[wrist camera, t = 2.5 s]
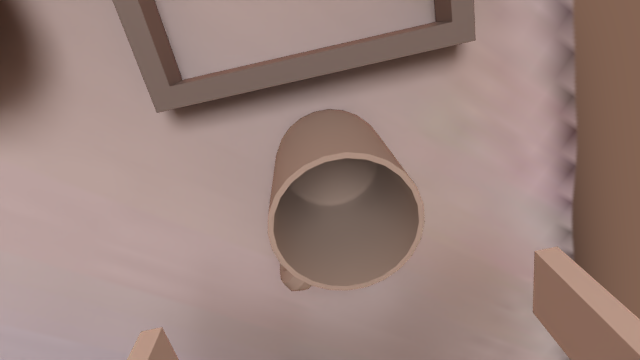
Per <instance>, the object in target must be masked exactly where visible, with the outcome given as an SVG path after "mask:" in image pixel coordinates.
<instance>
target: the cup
mask: <svg viewBox="0 0 640 360" xmlns="http://www.w3.org/2000/svg"><path fill="white" fill-rule="evenodd" d="M424 223H425V220H424V205H423V202H422V199H421V196H420V194H419V191H418V189H417V187H416V185H415V184H414V182H413V181H412V180H411V178H410V177H409V176H408V174H407V173H406V172H405V170H404V169H403V168H402V166H401V165H400V164H399V162H398V161H397V160H396V158H395V157H394V155H393V154H392V153H391V151H390V150H389V149H388V147H387V146H386V145H385V143H384V142H383V141H382V139H381V138H380V137H379V135H378V134H377V133H376V132H375V130H374V129H373V128H372V127H371V125H369V124H368V123H367V122H366V121H364V120H363V119H361V118H360V117H359V116H357V115H355V114H352V113H349V112H346V111H344V110H332V109H327V110H322V111H316V112H313V113H311V114H309V115H307V116H304V117H302V118H300V119H299V120H298V121H297V122H296V123H295V124H293V125H292V126H291V127H290V128H289V129H288V131H287V132H286V134H285V135H284V137H283V138H282V140H281V143H280V146H279V149H278V152H277V155H276V161H275V168H274V176H273V183H272V191H271V198H270V206H269V213H268V236H269V240H270V243H271V247H272V250H273V252H274V253H275V255H276V257H277V258H278V260H279V262H280V275H281V280H282V282H283V283H284V284H285V285H286V286H287V287H288V288H289V289H290V290H291V291H300V290H306V289H309V287H310V286H311V285H312V286H316V287H320V288H324V289H328V290H352V289H358V288H363V287H367V286H370V285H372V284H375V283H377V282H380V281H382V280H384V279H386V278H387V277H389V276H390V275H392V274H393V273H395V272H396V271H397V270H399V269H400V268H401V267H402V266H403V265H404V264H405V263H406V261H407V260H408V259H409V258H410V257H411V256H412V254H413V253H414V251H415V249H416V247H417V245H418V243H419V241H420V240H421V235H422V231H423V227H424Z"/></svg>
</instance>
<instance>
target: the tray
mask: <svg viewBox="0 0 640 360" xmlns="http://www.w3.org/2000/svg"><path fill="white" fill-rule="evenodd" d="M113 3H114V5H115V8H116V10H117V13H118V16H119V18H120V21H121V23H122V26H123V28H124V31H125V33H126V36H127V38H128V41H129V43H130V46H131V49H132V51H133V54H134V56H135V59H136V61H137V64H138V66H139V69H140V71H141V74H142V76H143V79H144V82H145V84H146V87H147V89H148V92H149V94H150V97H151V99H152V102H153V104H154V107H155V109H156V112H157V113H158V112H163V111H167V110H172V109H176V108H180V107H185V106H189V105H194V104H198V103H202V102H207V101H211V100H216V99H220V98H224V97H229V96H233V95H238V94H242V93H246V92H251V91H255V90H260V89H264V88H268V87H273V86H277V85H282V84H286V83H290V82H295V81H299V80H304V79H308V78H312V77H317V76H321V75H326V74H330V73H334V72H339V71H343V70H348V69H352V68H356V67H361V66H365V65H370V64H374V63H378V62H383V61H387V60H392V59H396V58H400V57H405V56H409V55H414V54H418V53H422V52H427V51H431V50H436V49H440V48H444V47H449V46H453V45H458V44H462V43H466V42H471V41H475V40H476V39H475V14H474V0H434V3H435V15H436V22H433V23H429V24H425V25H420V26H416V27H412V28H407V29H403V30H399V31H394V32H390V33H385V34H381V35H377V36H372V37H368V38H364V39H359V40H355V41H351V42H346V43H342V44H337V45H333V46H329V47H324V48H320V49H316V50H311V51H307V52H303V53H298V54H294V55H289V56H285V57H281V58H276V59H272V60H268V61H263V62H259V63H255V64H250V65H246V66H241V67H237V68H233V69H228V70H224V71H220V72H215V73H211V74H206V75H202V76H198V77H193V78H189V79H185V80H182V77H181V75H180V72H179V69H178V66H177V63H176V60H175V58H174V55H173V52H172V49H171V46H170V43H169V41H168V38H167V35H166V32H165V29H164V26H163V24H162V21H161V18H160V15H159V12H158V9H157V7H156V4H155V1H154V0H113Z"/></svg>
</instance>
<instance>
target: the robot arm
mask: <svg viewBox="0 0 640 360" xmlns="http://www.w3.org/2000/svg"><path fill="white" fill-rule="evenodd" d="M533 313H534V314H535V316H536V317H537V318H538V319H539V321H540V322H541V323H542V324H543V326H544V327H545V328H546V329H547V331H548V332H549V333H550V334H551V336H552V337H553V338H554V340H555V341H556V342H557V343H558V345H559V346H560V347H561V348H562V350H563V351H564V352H565V353H566V355H567V356H568V357H569V358H570V360H640V319H638V318H637V317H636V316H635V315H634V314H633V313H632V312H631V311H629V310H628V309H627V308H626V307H625V306H624V305H622V304H621V303H620V302H619V301H618V300H617V299H616V298H615V297H614V296H612V295H611V294H610V293H609V292H608V291H607V290H605V288H603V287H602V286H601V285H600V284H599V283H598V282H597V281H595V280H594V279H593V278H592V277H591V276H590V275H589V274H587V273H586V272H585V271H584V270H583V269H582V268H581V267H580V266H579V265H577V264H576V263H575V262H574V261H573V260H572V259H571V258H570V257H568V256H567V255H566V254H565V253H564V252H563V251H562V250H560V249H559V248H558V247H553V248H548V249H543V250H538V251H535V257H534V290H533ZM127 360H179V359H178V357H177V355H176V353H175V351H174V350H173V348H172V346H171V344H170V342H169V340H168V338H167V336H166V334H165V332H164V330H163V328H162V327H161V328H156V329H151V330H147V331H142V332H141V333H140V335H139V337H138V339H137V341H136V343H135V345H134V347H133V349H132V351H131V353H130V355H129V357H128V359H127Z"/></svg>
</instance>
